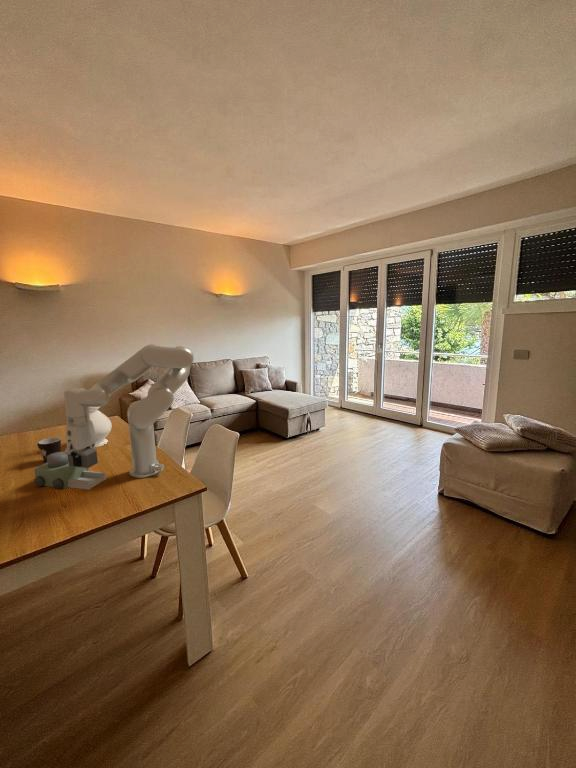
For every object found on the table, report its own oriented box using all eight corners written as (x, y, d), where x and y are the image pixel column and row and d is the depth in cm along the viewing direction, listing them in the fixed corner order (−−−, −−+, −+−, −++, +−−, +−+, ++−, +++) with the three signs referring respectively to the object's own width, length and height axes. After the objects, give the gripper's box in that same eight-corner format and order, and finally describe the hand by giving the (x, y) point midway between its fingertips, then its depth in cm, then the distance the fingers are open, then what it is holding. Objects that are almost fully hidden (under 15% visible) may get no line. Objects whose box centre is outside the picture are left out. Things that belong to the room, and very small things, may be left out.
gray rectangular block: (97, 463, 133) (96, 449, 132) (88, 468, 129) (86, 453, 128) (79, 460, 135) (77, 447, 134) (68, 465, 131) (67, 451, 129)
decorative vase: (96, 451, 166) (90, 403, 162) (66, 448, 170) (60, 401, 165) (120, 438, 183) (116, 395, 179) (93, 436, 187) (88, 394, 182)
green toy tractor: (109, 476, 139) (107, 452, 137) (84, 492, 126) (80, 465, 124) (62, 471, 144) (59, 447, 142) (33, 486, 131) (29, 460, 129)
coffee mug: (66, 460, 156) (63, 440, 154) (44, 466, 149) (40, 445, 148) (59, 453, 163) (56, 434, 161) (37, 459, 157) (34, 439, 155)
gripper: (68, 426, 120) (73, 473, 123) (103, 414, 136) (107, 455, 139) (51, 425, 121) (56, 471, 124) (87, 413, 137) (92, 454, 141)
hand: (83, 462), depth 132 cm, fingers closed on gray rectangular block, 5 cm apart
